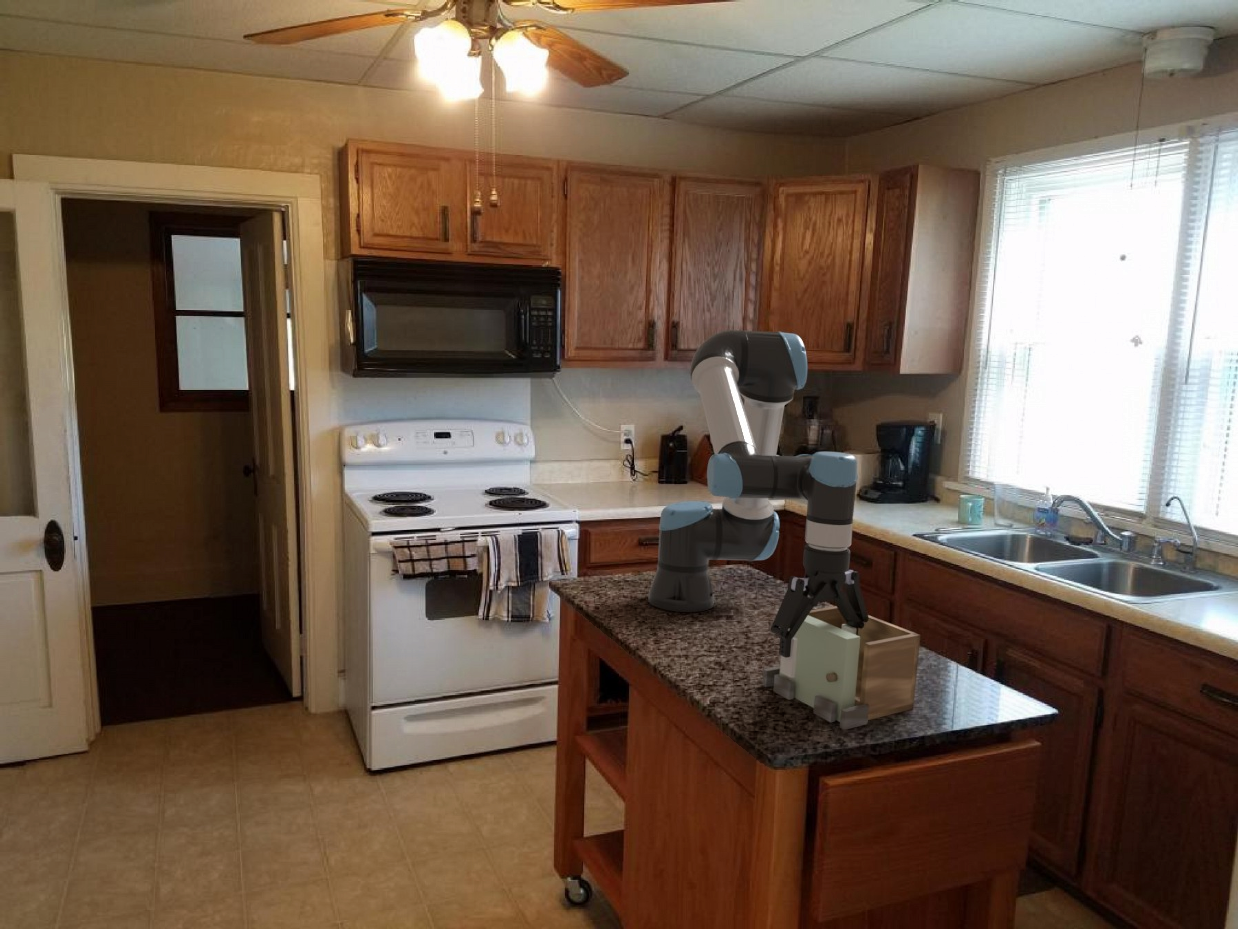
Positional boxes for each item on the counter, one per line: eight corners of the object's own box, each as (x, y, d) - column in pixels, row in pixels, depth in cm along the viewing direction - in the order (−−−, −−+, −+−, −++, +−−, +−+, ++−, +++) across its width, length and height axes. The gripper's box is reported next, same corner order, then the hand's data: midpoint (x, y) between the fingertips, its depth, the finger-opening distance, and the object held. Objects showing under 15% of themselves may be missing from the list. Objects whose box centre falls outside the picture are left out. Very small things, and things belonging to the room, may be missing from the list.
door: (773, 690, 156) (778, 613, 154) (791, 686, 159) (797, 610, 157) (834, 723, 144) (841, 640, 142) (853, 718, 146) (860, 636, 144)
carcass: (762, 685, 158) (767, 614, 156) (832, 670, 167) (838, 603, 165) (844, 730, 141) (850, 651, 139) (917, 710, 150) (925, 636, 148)
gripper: (863, 535, 157) (853, 651, 160) (754, 546, 144) (745, 672, 147) (896, 544, 151) (885, 665, 154) (785, 557, 138) (776, 688, 141)
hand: (817, 668), depth 150 cm, fingers open, 13 cm apart
